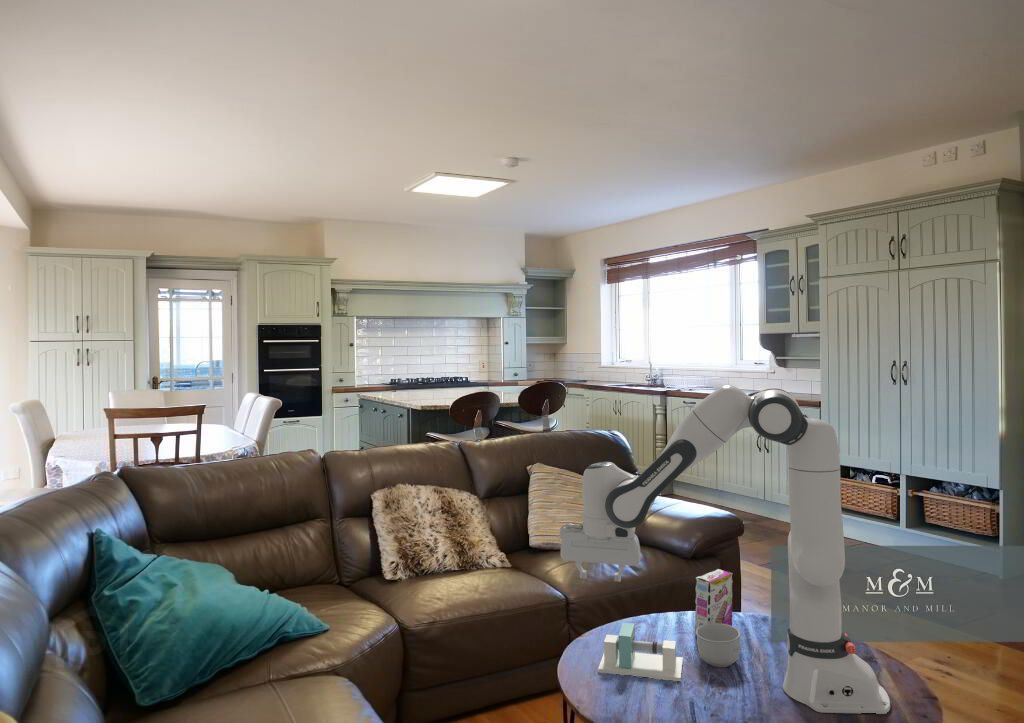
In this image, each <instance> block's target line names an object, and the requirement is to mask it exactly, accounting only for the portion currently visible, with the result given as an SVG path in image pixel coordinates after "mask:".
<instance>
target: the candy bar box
mask: <svg viewBox="0 0 1024 723" xmlns="http://www.w3.org/2000/svg"><path fill="white" fill-rule="evenodd" d="M694 602H695V613H694V614H695V617H694V619H695V622H694V623H695V627H694V628H695V631H694V633H695V634H694V635H695V636H697V635H696V630H697V629H698V628H699V627H700V626H702V625H706V624H707V622H708V621H713V622H714V623H720V624H727V625H730V626H733V572H730V571H727V570H722V569H719V568H717V569H715V570H712V571H710V572H708V573H705V574H701V575H699V576H696V577H695V601H694Z"/></svg>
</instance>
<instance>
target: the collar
mask: <svg viewBox="0 0 1024 723" xmlns="http://www.w3.org/2000/svg"><path fill="white" fill-rule="evenodd" d="M635 626H636V625H635V623H633V622H632V623H631V622H622V624H621V627H620V629H619V634H618V639H619V667H625V668H631V667H632V664H633V660H634V656H635V652H636V651H632V640H634V641H636V631H635V629H636V628H635Z"/></svg>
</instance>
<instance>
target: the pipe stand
mask: <svg viewBox="0 0 1024 723" xmlns="http://www.w3.org/2000/svg"><path fill="white" fill-rule="evenodd" d="M632 651H635V656H634V660H633V664H632V667H631V668H625V667H619V635H616V634H606V635H605V638H604V640H603V654H602V657H601V660H600V663H599V665H598V667H597V668H598V669H597V670H598V671H597V673H599V674H607V673H612V674H611V675H616V674H621V675H620V676H624V675H635V676H643V677H649V678H648V679H651V678H655V679H654V680H660V679H663V680H662V681H668V680H673V681H672V682H677V681H680V682H682V674H683V666H682V665H684V657H681V656H677V641H676V640H666V639H664V640H663V642H658V641H653V642H652V641H642V640H635V641H634V640H632ZM681 673H682V674H681ZM680 682H679V683H680Z"/></svg>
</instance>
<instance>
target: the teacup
mask: <svg viewBox="0 0 1024 723" xmlns="http://www.w3.org/2000/svg"><path fill="white" fill-rule="evenodd" d="M695 636H696V643H697V645H696V646H697V650H698V651H697V652H698V655H699V657H700V658H701V659H702V660H703V661H704V662H706V664H709V665H710V666H711V667H717V668H726V667H729V666H731V665H733V664H734V663H735V662H737V661H738V660H739V657H740V655H741V632H740V630H739V629H738V628H737V627H735V626H733V625H732V626H730V625H727V624H720V623H714V622H713V621H708V622H707V624H706V625H702V626H700V627H699V628H698V629H697V630H696V635H695Z"/></svg>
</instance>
